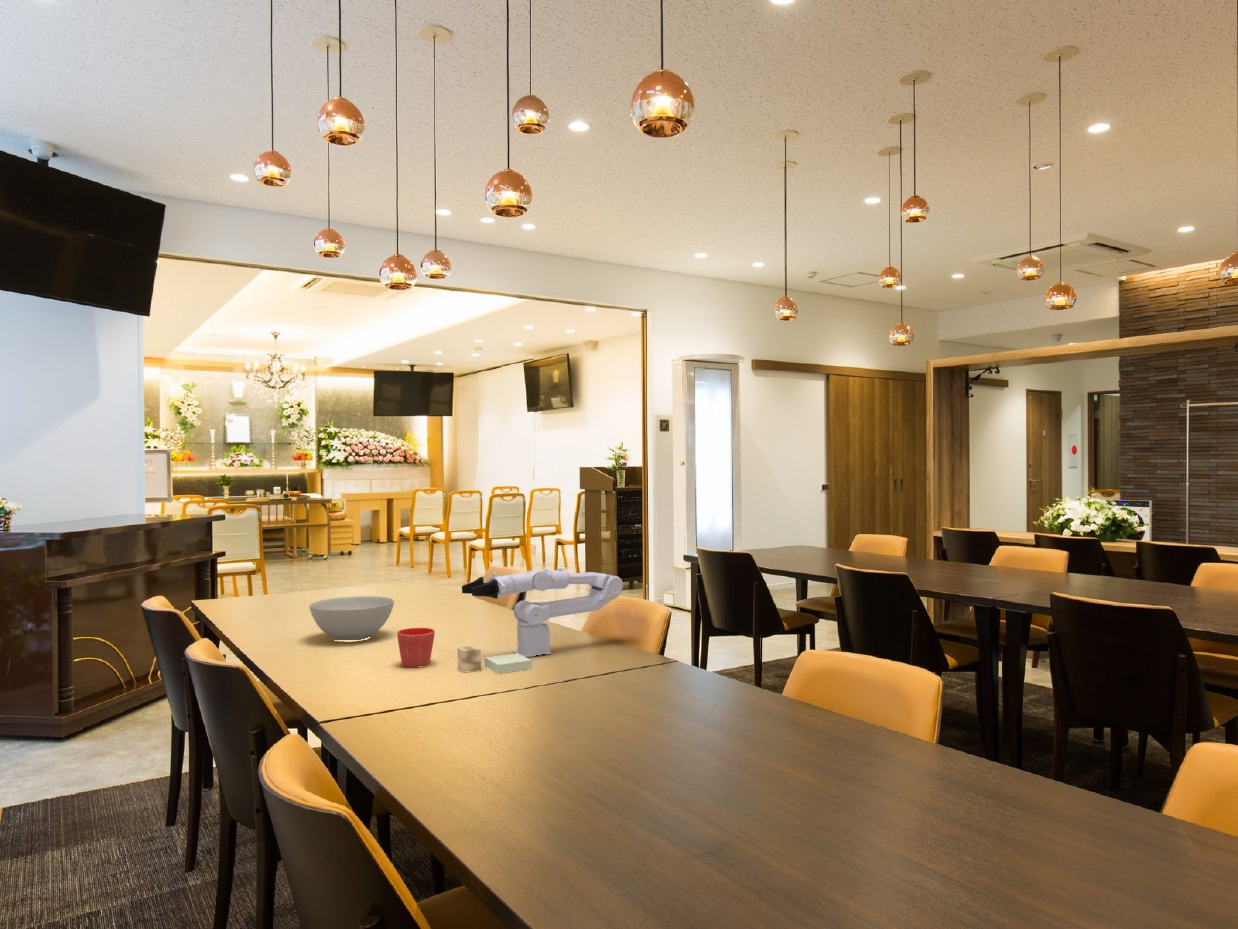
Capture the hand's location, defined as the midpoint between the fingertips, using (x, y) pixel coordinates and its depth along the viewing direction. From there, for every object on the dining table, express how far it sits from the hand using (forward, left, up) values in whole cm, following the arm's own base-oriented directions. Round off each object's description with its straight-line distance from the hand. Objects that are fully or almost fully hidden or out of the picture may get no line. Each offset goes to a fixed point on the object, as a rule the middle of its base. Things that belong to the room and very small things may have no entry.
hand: (467, 590), depth 236 cm
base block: (-8, +11, -21) cm, 26 cm away
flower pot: (+13, -7, -21) cm, 26 cm away
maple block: (+2, +7, -21) cm, 22 cm away
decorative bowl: (+21, -53, -21) cm, 61 cm away
